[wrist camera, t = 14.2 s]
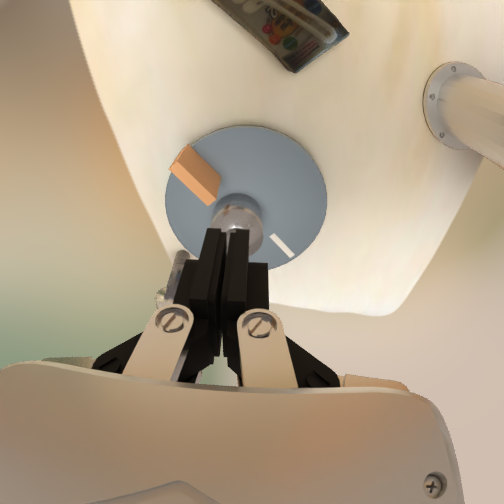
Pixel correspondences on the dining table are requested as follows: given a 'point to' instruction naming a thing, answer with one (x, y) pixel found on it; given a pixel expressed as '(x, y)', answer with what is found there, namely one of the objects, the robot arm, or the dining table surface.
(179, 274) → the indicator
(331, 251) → the dining table surface
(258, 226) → the cover
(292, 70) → the beverage carton
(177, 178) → the turntable
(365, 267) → the dining table surface
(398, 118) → the dining table surface
